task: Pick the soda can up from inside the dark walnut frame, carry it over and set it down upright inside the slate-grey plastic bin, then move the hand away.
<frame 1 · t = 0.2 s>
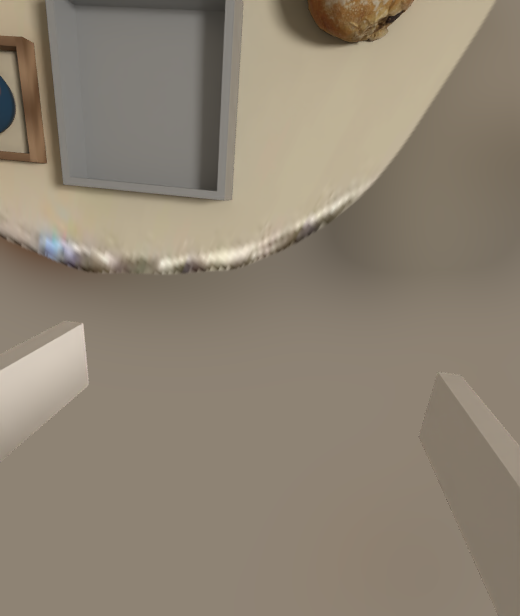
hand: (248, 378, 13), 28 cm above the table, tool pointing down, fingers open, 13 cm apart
grey bin: (155, 104, 36), on the table
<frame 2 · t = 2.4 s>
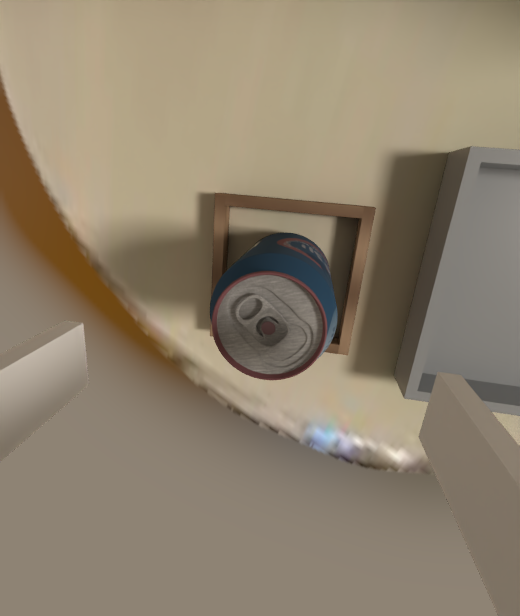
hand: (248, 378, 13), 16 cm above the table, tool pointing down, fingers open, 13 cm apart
walnut frame: (286, 273, 28), on the table
soda can: (286, 273, 28), resting in walnut frame
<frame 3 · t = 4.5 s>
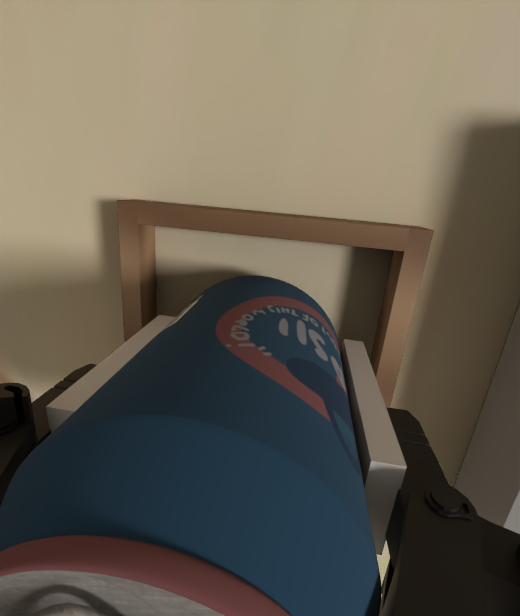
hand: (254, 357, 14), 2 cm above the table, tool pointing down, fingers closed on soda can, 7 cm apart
walnut frame: (260, 342, 16), on the table
soda can: (260, 340, 16), resting in walnut frame, touching gripper
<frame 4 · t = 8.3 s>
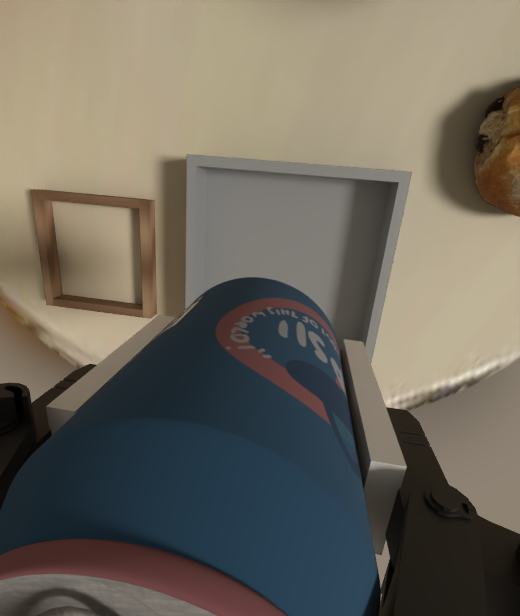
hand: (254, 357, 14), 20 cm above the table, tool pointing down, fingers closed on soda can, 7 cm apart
grey bin: (286, 264, 33), on the table
walnut frame: (101, 254, 35), on the table
soda can: (260, 341, 16), point 18 cm above the table, touching gripper
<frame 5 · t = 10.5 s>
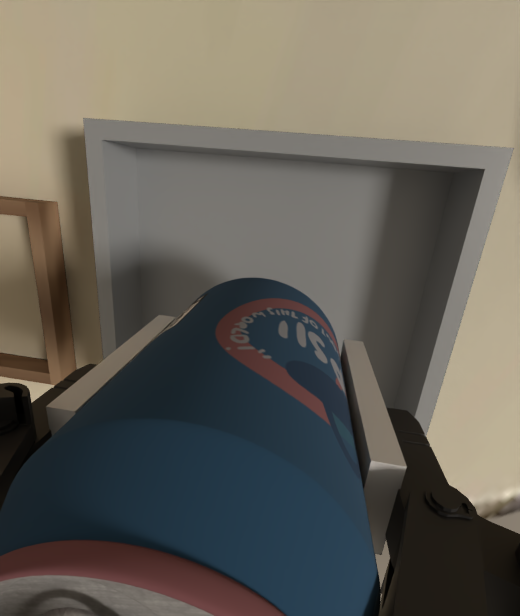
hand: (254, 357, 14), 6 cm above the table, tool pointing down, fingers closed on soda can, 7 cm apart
grey bin: (272, 306, 20), on the table
soda can: (260, 342, 16), point 5 cm above the table, touching gripper
when the fingers open (3 cm above the table, at t = 12.0 s): soda can drops 1 cm, resting on grey bin.
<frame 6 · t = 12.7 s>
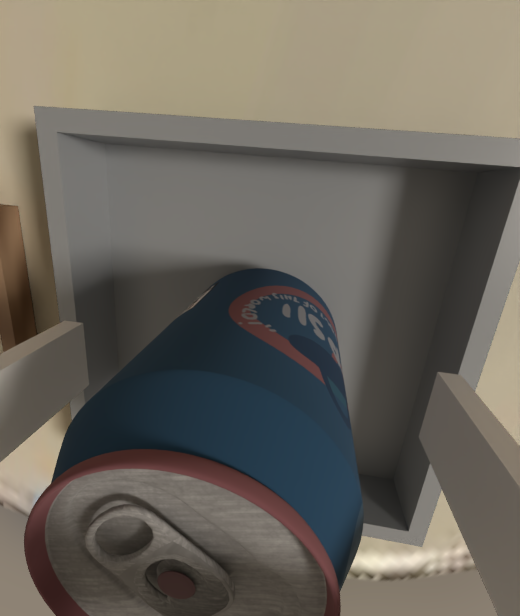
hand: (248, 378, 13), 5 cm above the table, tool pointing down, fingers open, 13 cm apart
grey bin: (265, 326, 18), on the table
soda can: (265, 328, 17), resting on grey bin
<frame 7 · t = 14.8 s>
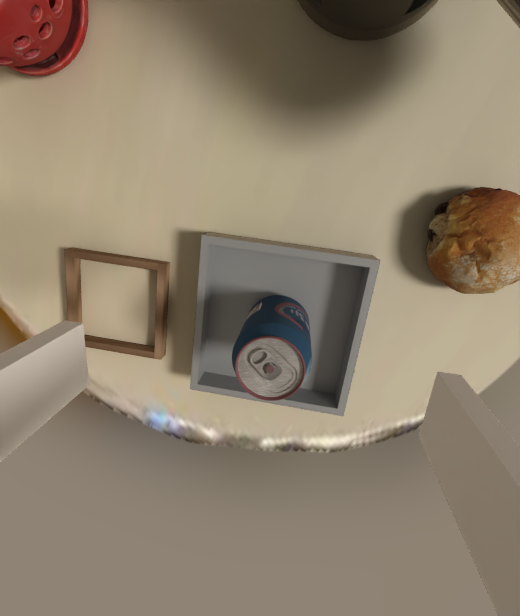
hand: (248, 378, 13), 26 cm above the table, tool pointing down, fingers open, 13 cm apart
plant pot: (43, 16, 33), on the table
grey bin: (278, 320, 39), on the table
bread roll: (470, 239, 35), on the table
walnut frame: (120, 302, 41), on the table
soda can: (278, 320, 39), resting on grey bin
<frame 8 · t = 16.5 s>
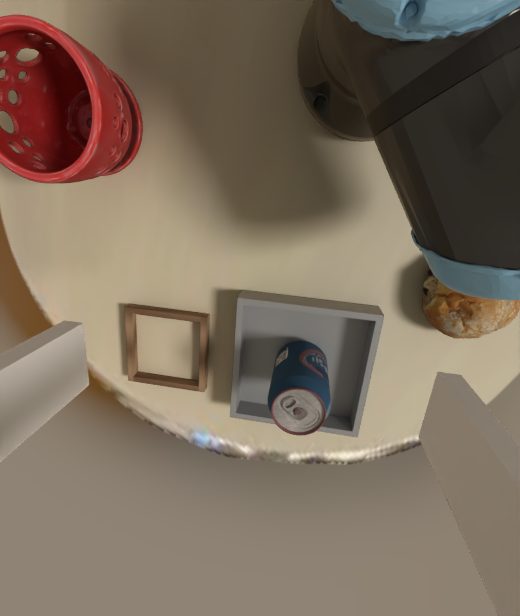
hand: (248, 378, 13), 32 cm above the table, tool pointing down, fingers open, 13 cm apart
plant pot: (105, 127, 41), on the table
grey bin: (301, 358, 47), on the table
bread roll: (459, 291, 42), on the table
walnut frame: (169, 346, 49), on the table
soda can: (301, 359, 47), resting on grey bin
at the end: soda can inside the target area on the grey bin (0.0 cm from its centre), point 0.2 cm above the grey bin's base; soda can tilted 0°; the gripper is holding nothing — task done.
